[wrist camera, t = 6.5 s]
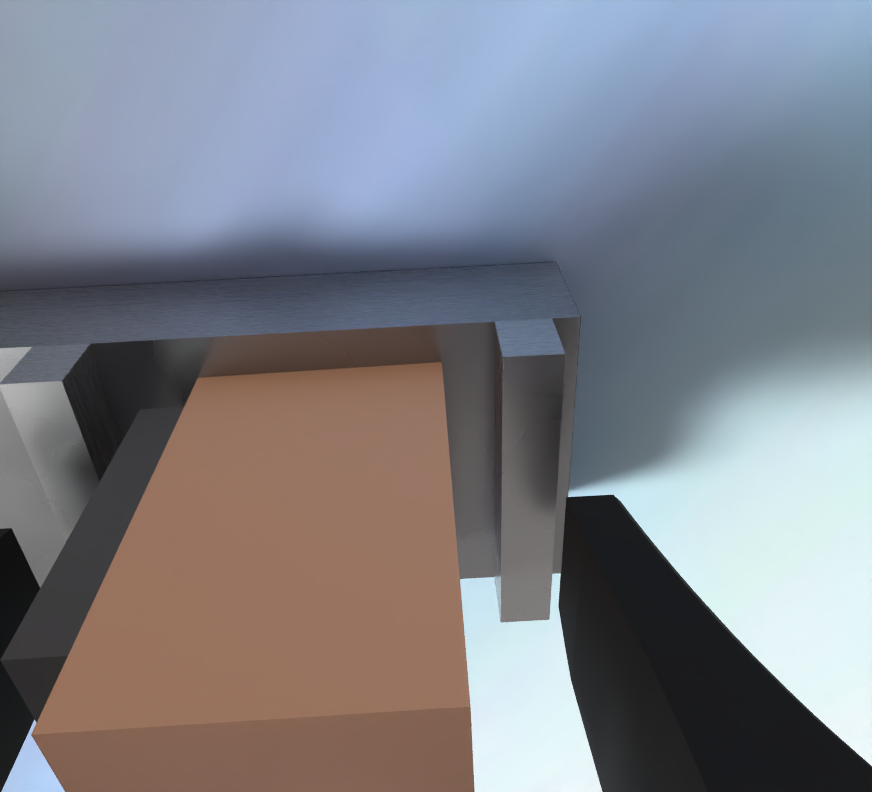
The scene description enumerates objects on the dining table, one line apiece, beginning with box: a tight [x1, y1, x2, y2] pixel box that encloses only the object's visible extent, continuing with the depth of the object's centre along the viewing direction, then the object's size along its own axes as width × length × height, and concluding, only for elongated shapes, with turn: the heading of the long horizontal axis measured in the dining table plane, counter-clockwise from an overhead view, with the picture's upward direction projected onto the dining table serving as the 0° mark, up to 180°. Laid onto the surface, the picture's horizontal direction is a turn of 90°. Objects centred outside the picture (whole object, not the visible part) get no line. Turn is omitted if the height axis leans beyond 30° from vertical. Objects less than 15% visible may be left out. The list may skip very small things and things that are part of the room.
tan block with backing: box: [0, 362, 474, 792], centre depth 9 cm, size 4×4×6 cm
